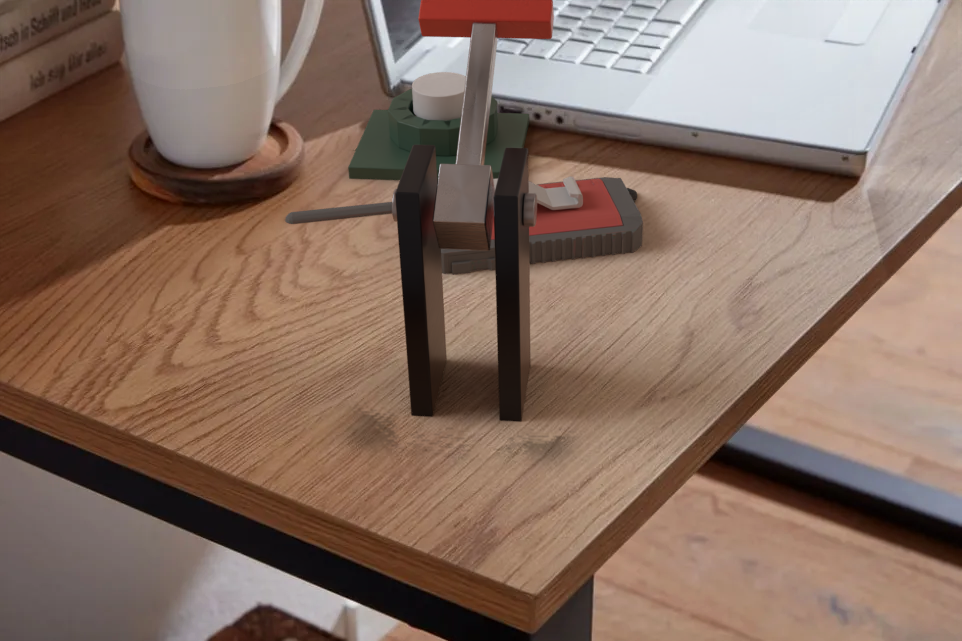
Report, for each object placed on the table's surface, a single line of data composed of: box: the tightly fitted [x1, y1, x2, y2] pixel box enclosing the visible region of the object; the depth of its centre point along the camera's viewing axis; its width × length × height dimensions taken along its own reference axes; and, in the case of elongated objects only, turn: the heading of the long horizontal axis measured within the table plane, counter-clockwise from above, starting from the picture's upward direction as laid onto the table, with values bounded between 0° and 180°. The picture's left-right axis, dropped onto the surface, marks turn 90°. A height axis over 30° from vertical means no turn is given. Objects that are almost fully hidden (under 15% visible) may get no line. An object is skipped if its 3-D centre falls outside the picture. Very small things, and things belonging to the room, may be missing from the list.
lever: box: [417, 0, 555, 251], centre depth 58 cm, size 12×6×2 cm
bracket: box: [391, 145, 537, 423], centre depth 59 cm, size 8×8×13 cm
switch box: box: [347, 88, 530, 181], centre depth 82 cm, size 10×8×4 cm
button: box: [411, 71, 466, 120], centre depth 81 cm, size 4×4×2 cm
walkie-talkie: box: [284, 176, 644, 276], centre depth 73 cm, size 9×4×20 cm
